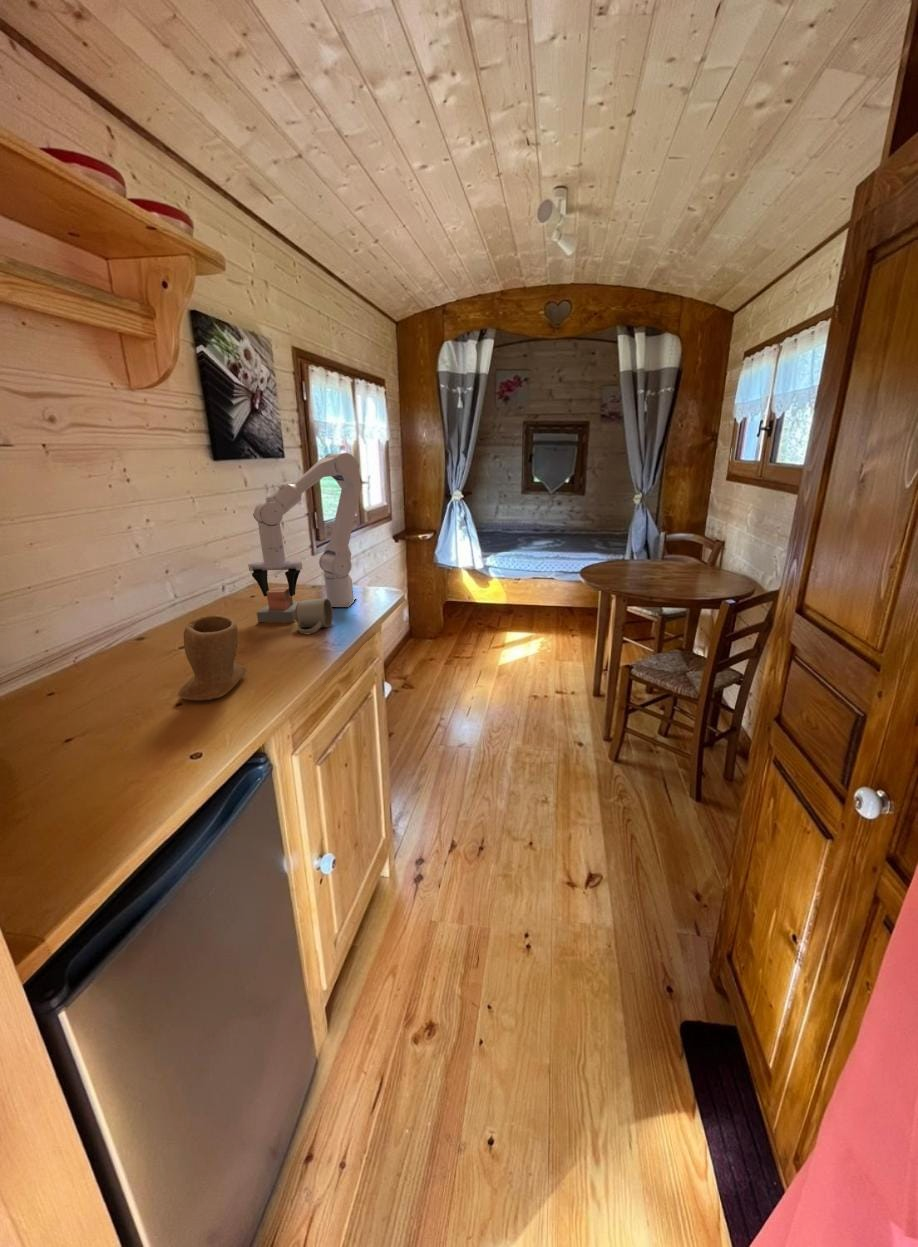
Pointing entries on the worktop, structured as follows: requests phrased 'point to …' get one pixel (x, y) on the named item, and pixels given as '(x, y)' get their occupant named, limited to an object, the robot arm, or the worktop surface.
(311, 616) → the ceramic mug
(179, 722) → the worktop surface
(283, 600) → the red cube
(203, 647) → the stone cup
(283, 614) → the grey block
